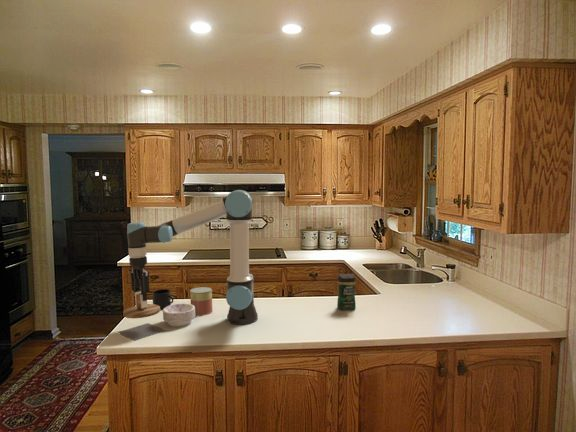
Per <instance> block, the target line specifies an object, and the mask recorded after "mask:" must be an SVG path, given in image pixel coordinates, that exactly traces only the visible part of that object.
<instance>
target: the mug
mask: <svg viewBox="0 0 576 432" xmlns="http://www.w3.org/2000/svg"><path fill="white" fill-rule="evenodd" d="M151 294H152V295H151V296H152V304H155V305H159V306H160V311H163V309H164V308H165V307H167V306H170V305H172V304H174V297H173V296H172V295H171V290H170V289H166V288H164V289H157V290H154V291H152V293H151Z"/></svg>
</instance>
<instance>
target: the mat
mask: <svg viewBox="0 0 576 432" xmlns="http://www.w3.org/2000/svg"><path fill="white" fill-rule="evenodd" d="M166 331H167V330H166V329H165V328H162V327H158V326H156V325H153V324H151V323H149V322H148V323H147V322H146V323H144V324H141V325H137V326H134V327H133V326H132V327H131V328H127V329H124V330H120V331H118V332H119V333H120V334H121V336H123V337H125V338H127V339H130V340H131V341H134V342H135V341H139V340H142V339H145V338H147V337H150V336H154V335H157V334H160V333H164V332H166ZM120 334H119V335H120Z"/></svg>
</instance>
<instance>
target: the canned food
mask: <svg viewBox="0 0 576 432" xmlns="http://www.w3.org/2000/svg"><path fill="white" fill-rule="evenodd" d="M212 291H213V289H212V288H211V287H208V286H207V287H206V286H204V287H203V286H201V287H194V288H191V289H190V290H189V292H190V304H191V305H194V306H195V316H206V315H210V314H212V313H213V292H212Z"/></svg>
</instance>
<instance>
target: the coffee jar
mask: <svg viewBox="0 0 576 432" xmlns="http://www.w3.org/2000/svg"><path fill="white" fill-rule="evenodd" d="M356 283H357V281H356V276H355V274H353V273H343V274H342V273H341V274H338V276H337V284H338V293H337V294H338V295H337V304H336V307H337V308H338V310H342V311H349V310H350V311H351V310H352V311H353V310H355V309H356V308H357V307H356V294H355V285H356Z"/></svg>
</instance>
